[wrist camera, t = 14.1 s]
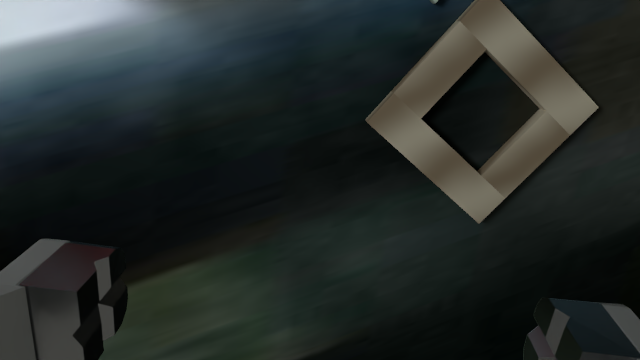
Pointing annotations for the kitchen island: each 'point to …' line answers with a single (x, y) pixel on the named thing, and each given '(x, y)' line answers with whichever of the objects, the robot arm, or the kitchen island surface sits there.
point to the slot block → (445, 69)
